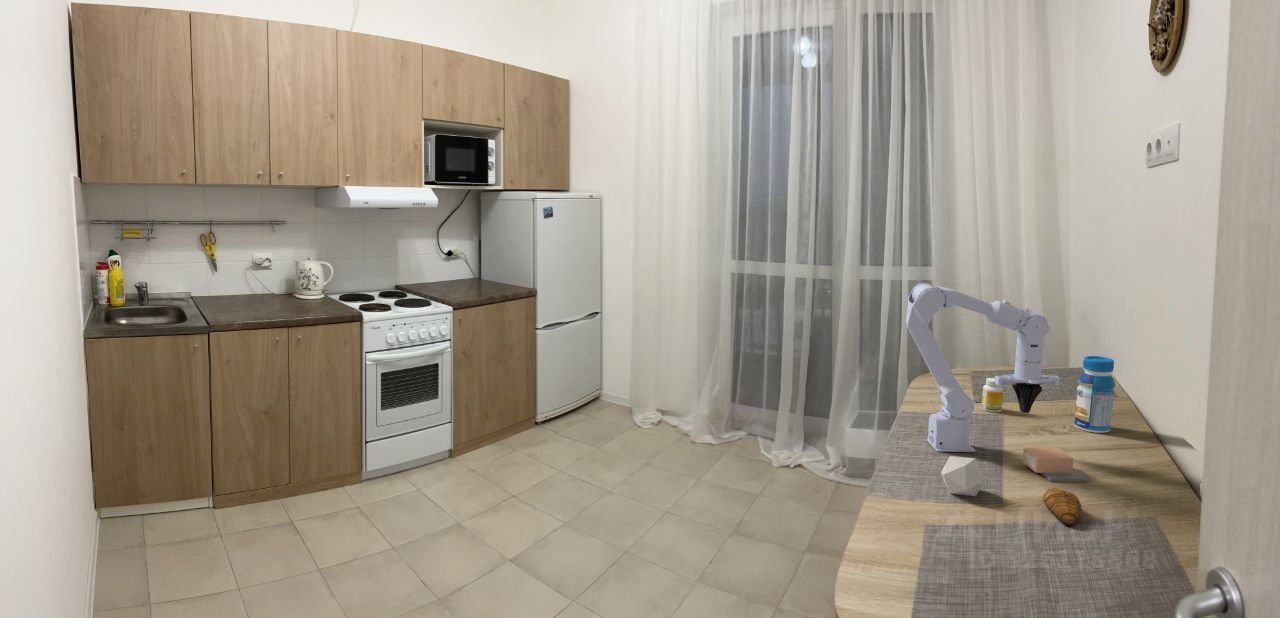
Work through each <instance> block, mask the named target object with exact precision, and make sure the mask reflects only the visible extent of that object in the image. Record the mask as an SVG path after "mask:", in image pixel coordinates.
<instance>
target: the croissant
mask: <svg viewBox="0 0 1280 618" xmlns="http://www.w3.org/2000/svg"><path fill="white" fill-rule="evenodd" d="M1042 501H1043V503H1044V505H1045V506H1046V508H1047V510H1048V511H1049V512H1050V513H1052V515H1053V516H1054V518H1055V519H1056V520H1058V521H1059V522H1060V523H1063V525H1066V526H1070V527H1072V526H1073V525H1074V524H1075V523H1076V521H1077V519H1078V518H1079V516H1080V511H1081V510H1082V504H1081V501H1080V500H1079V498H1078V496H1077V495H1076V494H1074V493H1072V492H1069V491H1066V490H1064V489H1060V488H1059V489H1058V488H1048V489H1047V490H1046V491H1045V493H1044V494H1043V497H1042Z"/></svg>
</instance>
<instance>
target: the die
mask: <svg viewBox="0 0 1280 618" xmlns="http://www.w3.org/2000/svg"><path fill="white" fill-rule="evenodd" d="M977 461H978V460H977V459H976V458H975V457H974V458H973V457H972V458H971V457H964V456H955V455H953V456H952V455H950V456H949V457H948V459H947V460H946V462H945V465H944V466H943V468H942V469H941V472H940V475H941V477H942V479H943V481H944V484H945V486H946V488H947V490H948V493H949V495H958V496H959V495H961V496H967V497H977V494H978V492H979V491H980V489H981V487H982V486H983V484H984V483H985V481H986V477H985V475H984V473H983V471H982V469H981V467H980V465H979V463H978V462H977Z"/></svg>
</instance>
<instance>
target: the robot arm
mask: <svg viewBox="0 0 1280 618" xmlns="http://www.w3.org/2000/svg"><path fill="white" fill-rule="evenodd" d="M955 306H957V307H959V308H962V309H965V310H969V311H973V312H975V313H978V314H982V315H984V316H985V317H986V320H987V321H988V323H991V324H994V325H998V326H1000V327H1004V328H1006V329H1009V330H1011V331H1017V340H1016V347H1015V348H1016V349H1015V360H1014V362H1015V363H1014V373H1012V374H1011V373H1010V374H1003V375H995V376H994V378H995V383H996V384H997V385H1000V386H1003V385H1011V387H1012V389H1013V390H1014V394H1015V395H1016V398H1017V401H1018V406H1019V411H1020V412H1022V413H1023V414H1029V413H1030V412H1031V409H1032V406H1033V404H1034V402H1035V401H1036V399H1037V397H1038V396H1039V395H1040V394H1041V393H1042V391H1043V387H1042V386H1041V385H1054V386H1060V385H1061V384H1060V382H1061V377H1060V376H1057V375H1049V374H1048V375H1046V374H1042V369H1043V357H1044V344H1045V343H1044V342H1045V337H1046V335H1048V333H1049V332H1050V328H1051V327H1050V326H1049V321H1048V320H1047V319H1046V318H1045V317H1044V316H1042V315H1041V314H1038V313H1037V312H1034V311H1032V310H1030V309H1029V308H1027V307H1023V308H1022V307H1018V306H1015V305H1012V304H1011V302H1010V301H1009V300H1005V299H1003V300H1002V301H1001V300H995V301H993V302H988V301H984V300H983V299H979V298H977V297H974V296H972V295H970V294H966V293H964V292H961V291H958V290H956V289H953V288H948V287H946V286H941V285H933V284H931V283H928V282H920V283H918V284H916V285H915V286H914V287H913V288H912V289H911V292H910V293H909V295H908V297H907V308H906V309H907V310H906V314H905V315H906V317H905V325H906V328H907V329H908V332H909V334H910V335H911V337H912V339H913V341H914V343H915V344H916V347H917V348H918V350H919V352H920V354H921V356H922V358H923V361H924V362H925V365H926V366H927V368H928V370H929V372H930V375H932V378H933V380H934V381H935V384H936V387H937V389H938V397H939V398H938V400H939V401H940V402H941V404H942V406H941V408H940V409H939V412H937V413H931V414H930V415H929V417H928V430H927V438H926V441H927V442H928V443H929V445H931V446H932V447H933V449H934V450H935V451H936V452H941V453H942V452H944V453H945V452H946V453H947V452H948V453H949V452H952V453H953V452H954V453H955V452H957V453H960V452H961V453H976V449H975V448H974V447H973V446H971V444H970V437H971V436H970V434H971V433H970V432H971V423H972V422H971V419H972V413H973V412H974V410H975V409H974V408H975V403H974V401H973V399H972V398H971V397H970V396H968V395H967V393H966V392H965V390H964V389H963V388H962V387H961V385H960V384H959V381H957V379H956V376H955V375H954V372H953V371H952V370H951V367H950V366H949V363H948V361H947V359H946V358H945V356H944V354H943V352H942V350H941V347H940V346H939V344H938V342H937V341H936V338H935V336H934V334H933V332H932V331H931V329H930V327H929V324H930V322H931V320H932V318H933V317H934V316H935V315H936V314H937V313H938V312H939V311H940V310H942V308H945V309H948V308H952V307H955Z"/></svg>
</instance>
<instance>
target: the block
mask: <svg viewBox="0 0 1280 618" xmlns="http://www.w3.org/2000/svg"><path fill="white" fill-rule="evenodd" d="M1074 461H1075V460H1074V457H1072V456H1071V455H1070V454H1068V453H1066V452H1065V451H1063V450H1062V449H1061V448H1059V447H1023V452H1022V463H1023V464H1024V465H1026V466H1027V467H1028V468H1030V469H1031V470H1032V471H1033V472H1034V473H1036V474H1037V473H1038V474H1041V473H1072V470H1073V468H1074Z"/></svg>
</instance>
